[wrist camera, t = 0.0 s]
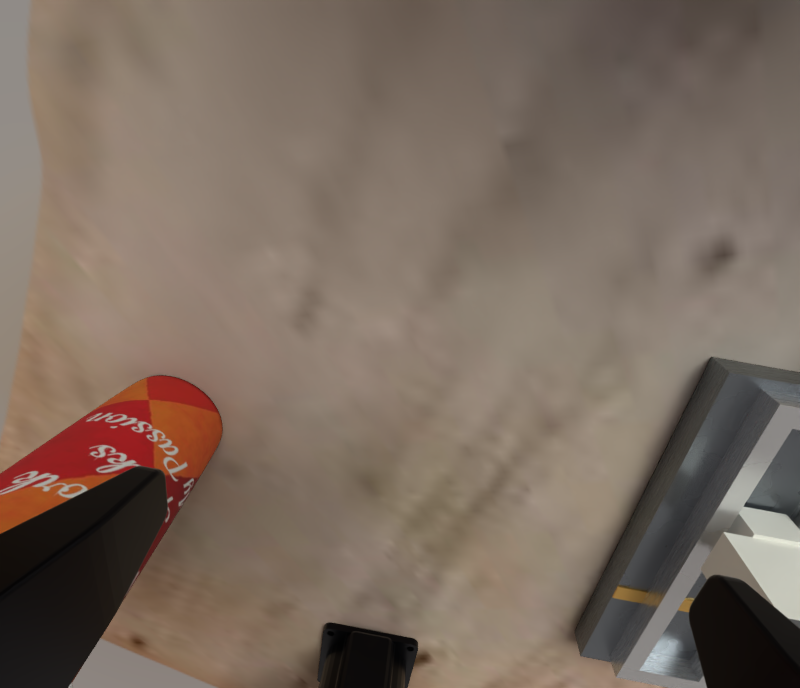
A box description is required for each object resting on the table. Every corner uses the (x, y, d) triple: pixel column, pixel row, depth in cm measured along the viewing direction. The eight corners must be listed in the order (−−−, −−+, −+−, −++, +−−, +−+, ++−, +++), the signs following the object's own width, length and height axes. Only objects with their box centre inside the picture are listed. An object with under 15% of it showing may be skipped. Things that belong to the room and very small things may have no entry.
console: (708, 657, 29) (732, 705, 27) (574, 631, 29) (585, 677, 27) (902, 390, 21) (963, 425, 18) (711, 356, 21) (746, 386, 18)
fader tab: (784, 560, 23) (892, 698, 18) (681, 540, 23) (755, 672, 18) (813, 519, 22) (940, 654, 16) (705, 499, 22) (793, 626, 16)
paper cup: (269, 447, 26) (93, 756, 13) (167, 490, 28) (-69, 791, 15) (180, 331, 23) (-147, 574, 10) (76, 388, 25) (-302, 647, 13)
